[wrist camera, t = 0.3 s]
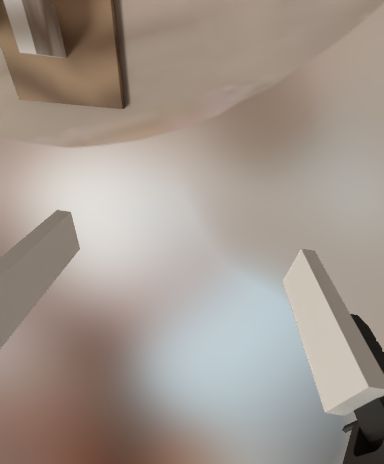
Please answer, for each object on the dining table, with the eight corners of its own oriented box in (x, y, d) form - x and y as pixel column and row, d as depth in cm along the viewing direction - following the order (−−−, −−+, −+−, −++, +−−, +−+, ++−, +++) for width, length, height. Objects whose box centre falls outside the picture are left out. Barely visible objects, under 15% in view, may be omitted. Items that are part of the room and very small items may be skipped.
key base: (-33, -68, 24) (-109, -113, 18) (107, -60, 23) (72, -104, 18) (24, 99, 33) (-16, 103, 28) (124, 108, 33) (105, 114, 27)
